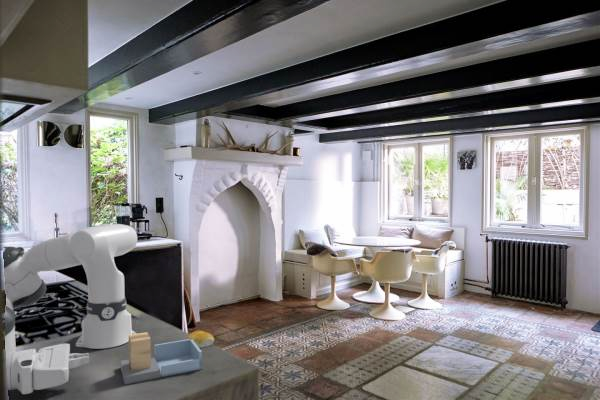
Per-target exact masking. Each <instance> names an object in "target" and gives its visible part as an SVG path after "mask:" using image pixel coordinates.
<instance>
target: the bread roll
mask: <svg viewBox="0 0 600 400" xmlns="http://www.w3.org/2000/svg"><path fill="white" fill-rule="evenodd" d="M187 339H193V341H194V342H195V343H196V345H197V346H198V347H199V348H200V349H203V348H207V347H210V346H212V345H213V344H214V342H215V337H214V335H212V334H211V333H209V332H207V331H203V330H196V331H192V332H191V333H189V334H188V336H187V338H186V340H187Z"/></svg>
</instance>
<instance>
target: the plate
mask: <svg viewBox="0 0 600 400" xmlns="http://www.w3.org/2000/svg"><path fill="white" fill-rule="evenodd" d="M120 371H121V375H122V380H123V383H124V385H129V384H134V383H135V384H136V383H139V382H144V381H150V380H156V379H160V378H162V377H161V374H160V368H159V366H158V364H157V362H156V359H155V354H154V355H153V354H151V368H146V369H140V370H135V371H131V368H130V365H129V358H128V359H123V360H120Z"/></svg>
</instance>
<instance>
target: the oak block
mask: <svg viewBox="0 0 600 400" xmlns="http://www.w3.org/2000/svg"><path fill="white" fill-rule="evenodd" d="M151 339H152V338H151V336H150V334H149V333H148V332H147V331H146V332H140V333H137V334H132V335H129V341H128V359H129V365H130V368H131V371H135V370H140V369H146V368H151V355H152V351H151V350H152V346H151V345H152V344H151Z"/></svg>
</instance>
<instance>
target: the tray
mask: <svg viewBox="0 0 600 400" xmlns="http://www.w3.org/2000/svg"><path fill="white" fill-rule="evenodd" d="M153 347H154V357H155V359H156V362H157V364H158V366H159V368H160V374H161V378H164V377H165V378H166V377H171V376H175V375H180V374H185V373H189V372H195V371H199V370H200V371H201V370H203V351H202V350H201V348H199V347H198V346H197V345H196V343H195V342H194V341H193V339H187V338H186V339H181V340H174V341H170V342H163V343H157V344H154V346H153Z"/></svg>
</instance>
